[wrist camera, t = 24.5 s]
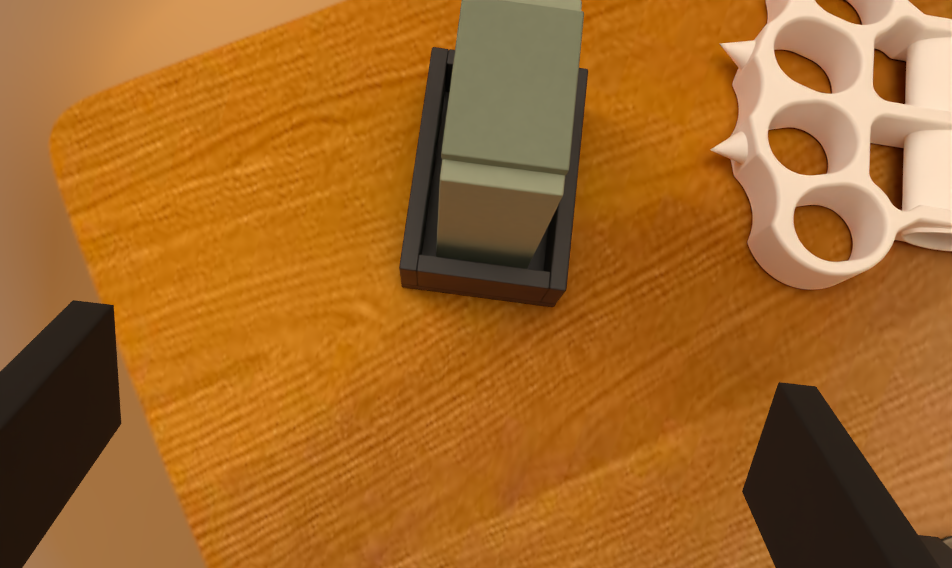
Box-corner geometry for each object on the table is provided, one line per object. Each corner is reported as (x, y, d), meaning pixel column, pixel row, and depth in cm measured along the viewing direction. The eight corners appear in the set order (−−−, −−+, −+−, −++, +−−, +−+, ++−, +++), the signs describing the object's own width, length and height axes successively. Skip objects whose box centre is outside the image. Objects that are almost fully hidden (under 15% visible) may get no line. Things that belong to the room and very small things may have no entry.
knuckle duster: (970, 317, 42) (688, 271, 42) (973, 5, 46) (717, -38, 46) (1016, 304, 39) (711, 254, 38) (1015, -30, 43) (739, -78, 42)
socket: (401, 287, 41) (399, 268, 37) (431, 83, 43) (432, 46, 39) (553, 307, 41) (566, 290, 37) (574, 103, 43) (588, 68, 40)
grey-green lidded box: (435, 258, 40) (438, 174, 29) (454, 108, 42) (465, -25, 31) (528, 270, 40) (567, 191, 29) (543, 119, 42) (586, -8, 31)
